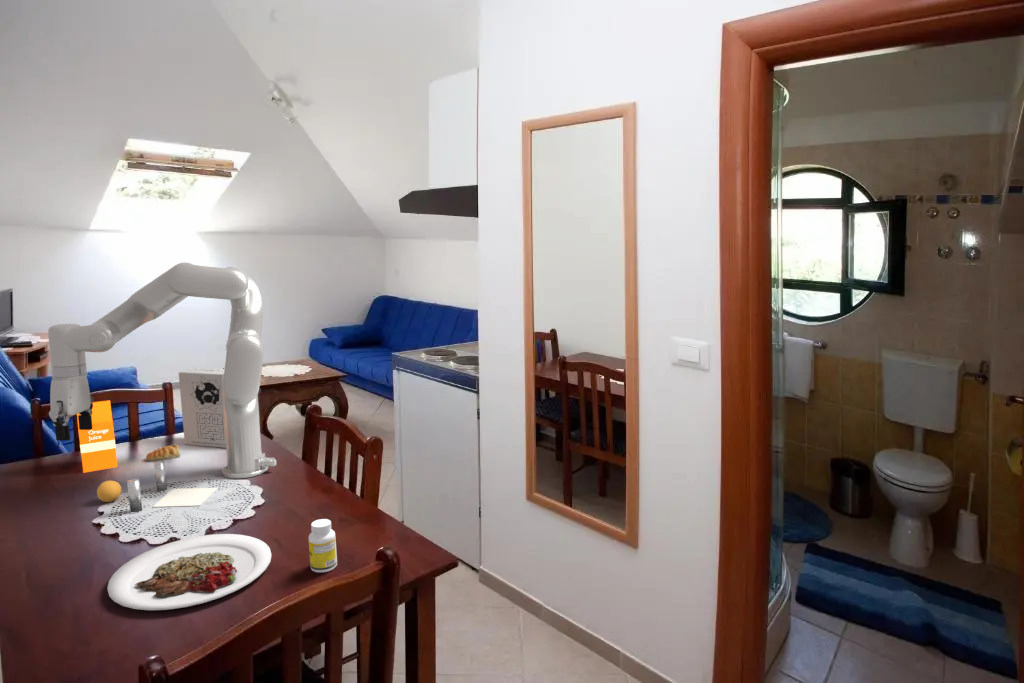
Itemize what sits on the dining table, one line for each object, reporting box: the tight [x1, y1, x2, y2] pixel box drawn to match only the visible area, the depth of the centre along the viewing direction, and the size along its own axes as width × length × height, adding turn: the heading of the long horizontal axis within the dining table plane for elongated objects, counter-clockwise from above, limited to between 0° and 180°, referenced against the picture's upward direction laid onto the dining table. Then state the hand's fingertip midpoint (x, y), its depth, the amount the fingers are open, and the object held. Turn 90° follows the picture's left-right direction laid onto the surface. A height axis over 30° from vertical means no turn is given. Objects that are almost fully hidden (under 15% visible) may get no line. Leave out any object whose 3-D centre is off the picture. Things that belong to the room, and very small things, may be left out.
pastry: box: [145, 444, 181, 463], centre depth 203 cm, size 9×7×4 cm
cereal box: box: [178, 367, 226, 449], centre depth 215 cm, size 22×8×25 cm, turn 77°
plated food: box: [107, 533, 272, 611], centre depth 132 cm, size 30×30×3 cm
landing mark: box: [151, 487, 219, 508], centre depth 171 cm, size 12×12×1 cm
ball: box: [96, 480, 122, 503], centre depth 169 cm, size 6×6×6 cm
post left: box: [126, 478, 143, 513], centre depth 162 cm, size 3×3×8 cm
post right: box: [153, 460, 168, 493], centre depth 176 cm, size 3×3×8 cm
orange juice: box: [76, 399, 118, 474], centre depth 194 cm, size 8×9×20 cm
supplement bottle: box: [308, 518, 338, 574], centre depth 134 cm, size 5×5×10 cm
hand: (75, 434), depth 171 cm, fingers open, 9 cm apart
